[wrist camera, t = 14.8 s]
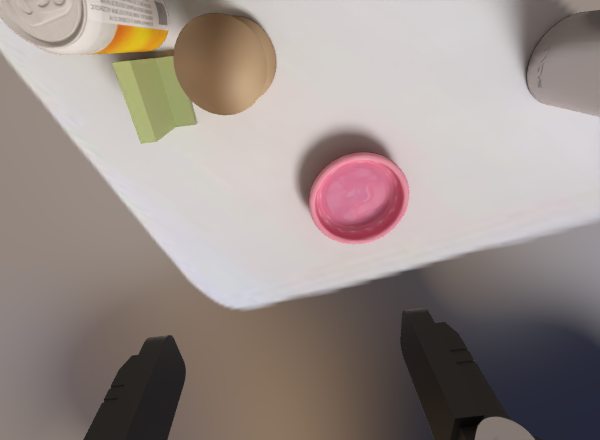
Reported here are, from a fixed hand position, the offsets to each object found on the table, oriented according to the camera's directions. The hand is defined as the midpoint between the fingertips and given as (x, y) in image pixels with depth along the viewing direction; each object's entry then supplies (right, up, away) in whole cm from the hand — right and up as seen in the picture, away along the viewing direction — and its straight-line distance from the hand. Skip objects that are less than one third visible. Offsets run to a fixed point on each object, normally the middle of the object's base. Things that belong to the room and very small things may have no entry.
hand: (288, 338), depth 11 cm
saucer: (+8, +8, +31) cm, 33 cm away
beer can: (-15, +24, +20) cm, 35 cm away
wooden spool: (-6, +21, +23) cm, 31 cm away
